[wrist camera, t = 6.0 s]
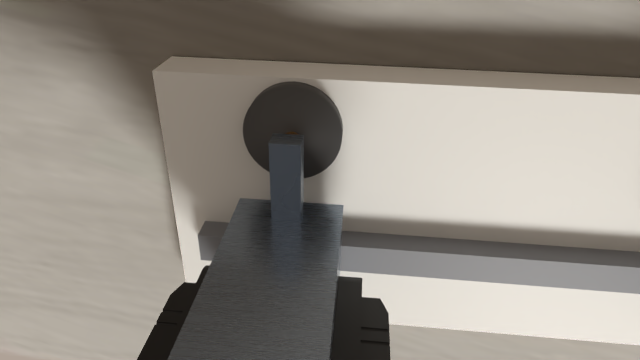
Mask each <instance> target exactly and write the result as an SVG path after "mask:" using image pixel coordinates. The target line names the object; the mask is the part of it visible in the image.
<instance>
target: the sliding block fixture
mask: <svg viewBox="0 0 640 360" xmlns="http://www.w3.org/2000/svg"><path fill="white" fill-rule="evenodd" d="M152 74H153V80H154V86H155V93H156V99H157V105H158V111H159V118H160V124H161V130H162V136H163V143H164V149H165V155H166V161H167V168H168V174H169V180H170V186H171V193H172V199H173V205H174V212H175V218H176V224H177V230H178V237H179V243H180V249H181V255H182V262H183V268H184V274H185V280H186V282H188V283H196V282H197V280H198V278H199V276H200V273H201V271H202V269H203V267H204V266H206V265H208V266H210V264H211V262H212V260H213V257H214V255H215V253H216V251H217V248H218V246H219V244H220V242H221V240H222V237H223V235H224V233H225V231H226V228H227V226H228V224H229V222H230V220H231V217H232V215H233V213H234V211H235V208H236V206H237V204H238V202H239V200H240V198H248V199H263V200H271V196H270V170H269V144H268V143H269V141H270V139H271V136H272V134H273V133H277V134H285V133H287V132H295V133H297V134H299V135H304V202H307V203H322V204H337V205H344V206H343V225H342V244H341V263H340V276H345V277H358V278H362V297H369V298H380V299H381V301H382V302H383V304H384V306H385V308H386V310H387V311H388V314H389V324H395V325H407V326H418V327H430V328H442V329H454V330H466V331H478V332H489V333H501V334H513V335H525V336H537V337H548V338H560V339H572V340H584V341H596V342H607V343H619V344H631V345H640V78H629V77H607V76H586V75H564V74H542V73H521V72H499V71H478V70H456V69H434V68H413V67H391V66H370V65H348V64H326V63H305V62H283V61H262V60H240V59H219V58H197V57H175V56H171V57H170V58H169V59H167V60H166V61H165V62H163V63H162V64H161V65H159V66H158V67H157V68H155V69H154V70H153V71H152Z"/></svg>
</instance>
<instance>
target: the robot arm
mask: <svg viewBox="0 0 640 360" xmlns="http://www.w3.org/2000/svg"><path fill="white" fill-rule="evenodd" d="M208 268H209V266H208V265H206V266H204V267H203V269H202V271H201V273H200V276H199V278H198V280H197V282H196V283H188V282H184V283H183V284H182V285H181V286H180V287H179V288H177V289H176V290H175V291H174V292H173V293H172V294H171V295H170V297H169V299H168V301H167V303H166V304H165V306H164V308H163V312H161V314H160V316H159V318H158V320H157V324H156V325H155V326H154V328H153V330H152V332H151V333H150V335H149V337H148V339H147V341H146V343H145V345H144V347H143V349H142V351H141V353H140V355H139V357H138V359H137V360H167V359H168V357H169V355H170V353H171V351H172V348H173V346H174V344H175V342H176V339H177V337H178V335H179V333H180V331H181V328H182V326H183V324H184V322H185V319H186V317H187V315H188V313H189V311H190V308H191V306H192V304H193V302H194V299H195V297H196V295H197V293H198V291H199V288H200V286H201V284H202V282H203V279H204V277H205V275H206V273H207V271H208ZM389 344H390V339H389V314H388V311H387V310H386V308H385V306H384V304H383V302H382V301H381V299H380V298H369V297H362V278H358V277H345V276H338V285H337V296H336V307H335V318H334V329H333V341H332V352H331V360H390V346H389Z"/></svg>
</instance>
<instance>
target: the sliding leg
mask: <svg viewBox="0 0 640 360" xmlns="http://www.w3.org/2000/svg"><path fill="white" fill-rule="evenodd" d="M268 144H269V170H270V196H271V200H263V199H248V198H240V200H239V202H238V204H237V206H236V208H235V211H234V213H233V215H232V217H231V220H230V222H229V224H228V226H227V228H226V231H225V233H224V235H223V237H222V240H221V242H220V244H219V246H218V248H217V251H216V253H215V255H214V257H213V260H212V262H211V264H210V266H209V268H208V271H207V273H206V275H205V277H204V279H203V282H202V284H201V286H200V288H199V291H198V293H197V295H196V297H195V299H194V302H193V304H192V306H191V308H190V311H189V313H188V315H187V317H186V319H185V322H184V324H183V326H182V328H181V331H180V333H179V335H178V337H177V339H176V342H175V344H174V346H173V348H172V351H171V353H170V355H169V357H168V359H167V360H331V352H332V341H333V329H334V318H335V307H336V296H337V285H338V276H340V263H341V244H342V225H343V206H344V205H337V204H322V203H307V202H304V135H299V134H297V133H295V132H287V133H285V134H277V133H273V134H272V136H271V139H270V141H269V143H268Z"/></svg>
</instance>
